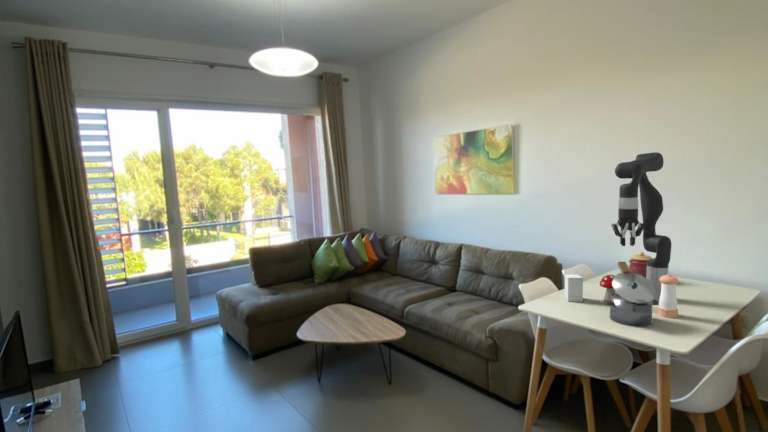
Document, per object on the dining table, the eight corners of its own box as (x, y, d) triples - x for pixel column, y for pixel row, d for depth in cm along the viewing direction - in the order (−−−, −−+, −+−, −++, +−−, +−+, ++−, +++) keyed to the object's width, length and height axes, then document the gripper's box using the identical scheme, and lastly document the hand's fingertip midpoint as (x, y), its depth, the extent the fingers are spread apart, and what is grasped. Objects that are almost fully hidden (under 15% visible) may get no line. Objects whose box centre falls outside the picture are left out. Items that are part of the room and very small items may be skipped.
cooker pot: (646, 313, 185) (646, 292, 184) (670, 328, 167) (671, 305, 166) (597, 313, 188) (597, 293, 187) (616, 328, 170) (616, 305, 169)
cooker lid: (639, 263, 185) (641, 259, 184) (662, 305, 168) (664, 301, 166) (602, 264, 187) (603, 260, 185) (620, 305, 170) (622, 301, 168)
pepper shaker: (671, 319, 178) (672, 277, 176) (654, 314, 184) (655, 273, 183) (681, 316, 181) (682, 274, 179) (664, 311, 187) (665, 271, 185)
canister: (623, 279, 245) (623, 250, 243) (642, 277, 246) (643, 249, 244) (639, 284, 232) (639, 254, 230) (659, 283, 233) (660, 253, 232)
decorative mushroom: (600, 306, 198) (600, 276, 197) (598, 300, 206) (598, 272, 205) (623, 307, 195) (624, 277, 193) (620, 302, 203) (620, 273, 201)
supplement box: (583, 301, 206) (583, 277, 204) (567, 301, 207) (567, 277, 206) (579, 297, 213) (579, 274, 212) (564, 297, 214) (564, 274, 213)
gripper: (640, 206, 181) (639, 243, 182) (607, 207, 182) (607, 244, 184) (649, 207, 173) (648, 246, 175) (615, 208, 175) (614, 247, 177)
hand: (627, 245), depth 179 cm, fingers open, 3 cm apart
